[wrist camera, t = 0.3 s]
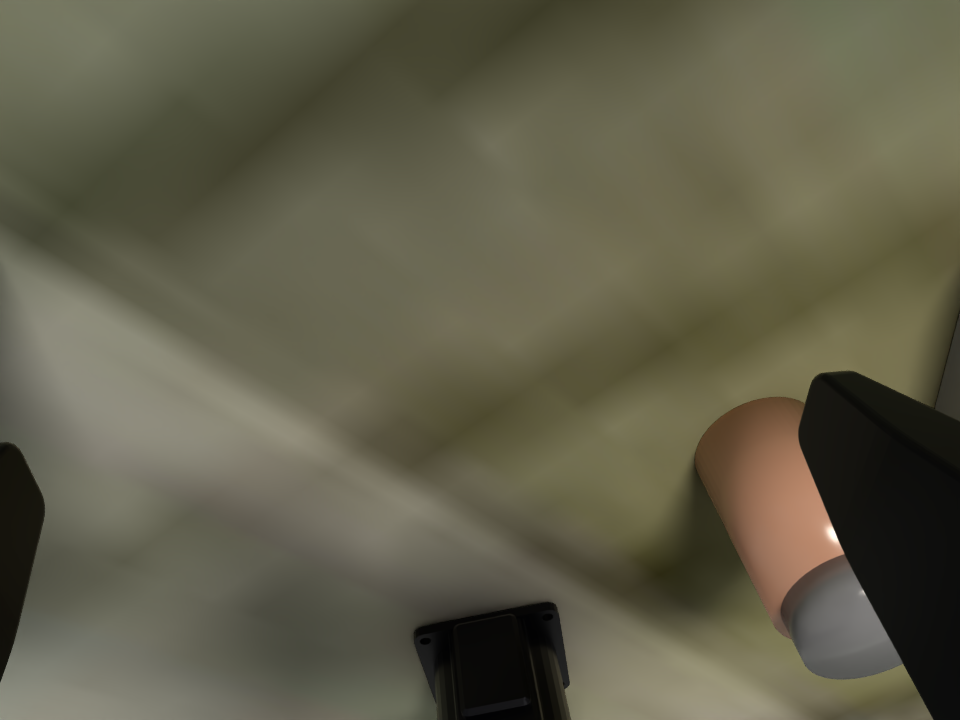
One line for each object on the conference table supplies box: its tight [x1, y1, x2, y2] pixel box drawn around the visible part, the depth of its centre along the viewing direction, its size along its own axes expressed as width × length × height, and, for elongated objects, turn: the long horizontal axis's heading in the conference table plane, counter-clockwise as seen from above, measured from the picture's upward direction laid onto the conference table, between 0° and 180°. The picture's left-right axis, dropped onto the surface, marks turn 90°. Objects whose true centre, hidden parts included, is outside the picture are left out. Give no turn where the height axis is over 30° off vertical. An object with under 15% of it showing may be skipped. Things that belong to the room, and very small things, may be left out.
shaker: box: [695, 397, 903, 679], centre depth 26 cm, size 5×5×8 cm
